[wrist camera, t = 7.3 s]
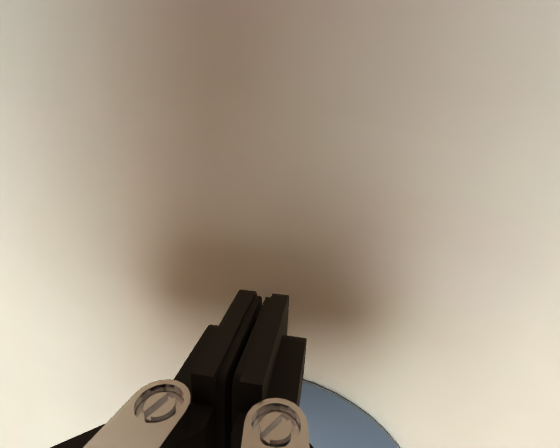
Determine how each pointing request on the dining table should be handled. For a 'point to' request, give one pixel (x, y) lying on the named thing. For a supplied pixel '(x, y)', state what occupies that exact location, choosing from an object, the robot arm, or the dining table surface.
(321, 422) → the disc
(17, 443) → the dining table surface
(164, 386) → the robot arm
